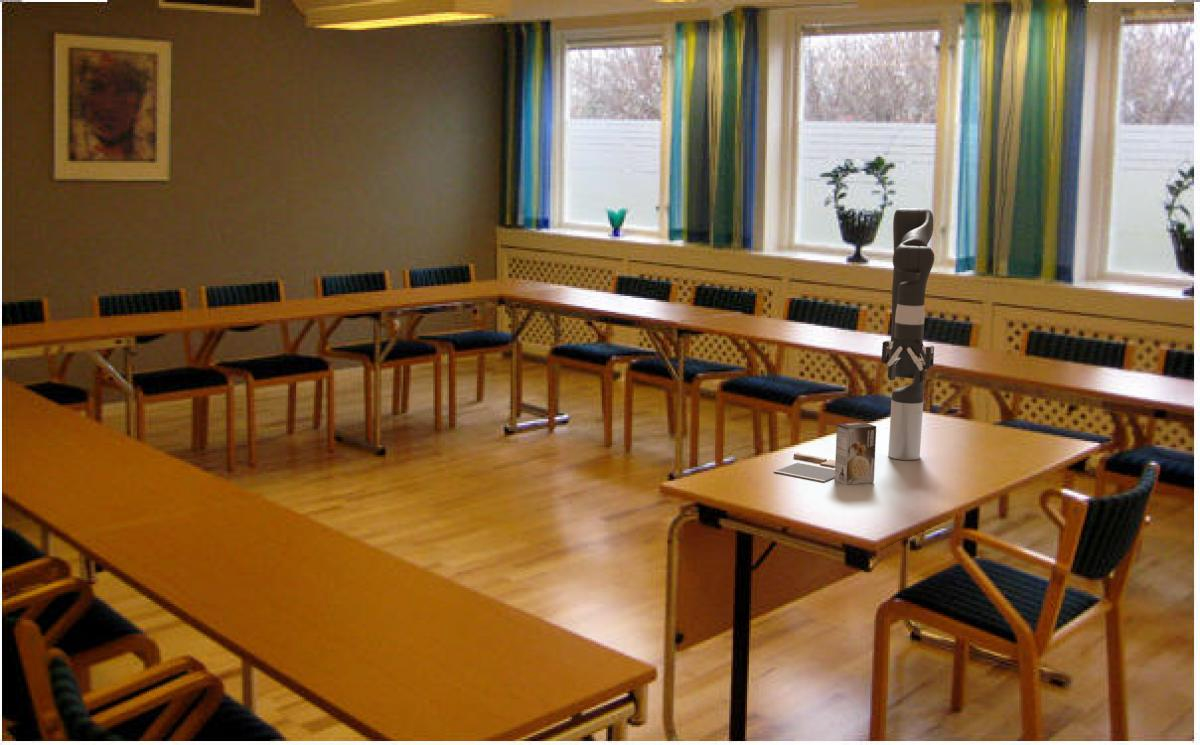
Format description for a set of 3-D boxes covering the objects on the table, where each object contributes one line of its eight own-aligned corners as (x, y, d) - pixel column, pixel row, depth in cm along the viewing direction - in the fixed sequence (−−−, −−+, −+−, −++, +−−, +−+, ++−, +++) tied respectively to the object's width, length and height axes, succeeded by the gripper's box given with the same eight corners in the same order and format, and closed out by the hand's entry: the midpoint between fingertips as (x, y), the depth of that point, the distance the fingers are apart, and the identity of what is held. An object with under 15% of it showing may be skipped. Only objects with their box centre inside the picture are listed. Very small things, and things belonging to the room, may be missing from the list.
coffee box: (861, 477, 380) (864, 421, 377) (874, 482, 374) (877, 426, 372) (833, 479, 377) (836, 423, 374) (845, 485, 371) (849, 428, 368)
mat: (798, 463, 394) (798, 462, 394) (847, 473, 384) (847, 471, 384) (773, 472, 383) (773, 471, 383) (824, 482, 373) (824, 481, 373)
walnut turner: (789, 459, 399) (790, 455, 399) (800, 455, 404) (800, 451, 403) (844, 470, 388) (845, 466, 388) (854, 466, 393) (854, 462, 393)
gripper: (940, 322, 358) (936, 383, 361) (891, 317, 366) (887, 376, 369) (928, 325, 352) (924, 387, 355) (878, 320, 360) (875, 380, 363)
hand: (905, 381), depth 362 cm, fingers open, 7 cm apart
